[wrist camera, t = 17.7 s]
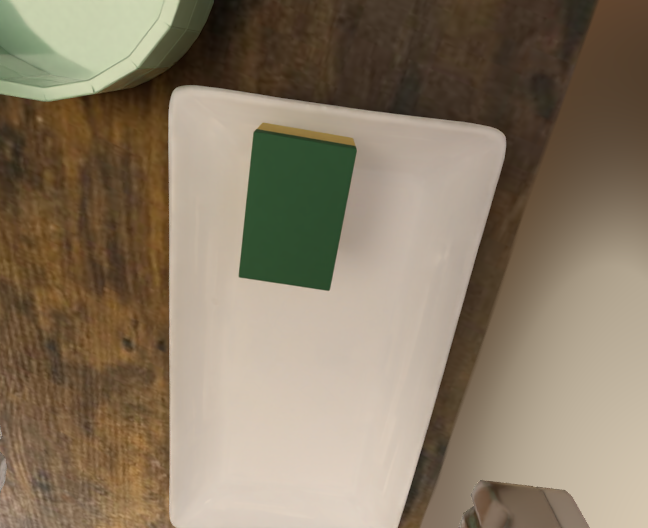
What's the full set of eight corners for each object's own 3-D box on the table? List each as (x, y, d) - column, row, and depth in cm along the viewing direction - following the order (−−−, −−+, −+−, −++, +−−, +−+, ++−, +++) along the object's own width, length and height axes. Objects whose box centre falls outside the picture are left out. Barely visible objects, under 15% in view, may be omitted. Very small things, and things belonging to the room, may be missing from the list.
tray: (178, 494, 38) (165, 535, 35) (185, 76, 25) (164, 80, 22) (386, 515, 39) (391, 556, 36) (492, 120, 26) (516, 130, 23)
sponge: (261, 121, 23) (253, 131, 20) (353, 137, 23) (357, 149, 20) (247, 254, 26) (238, 278, 23) (329, 266, 26) (329, 291, 23)
